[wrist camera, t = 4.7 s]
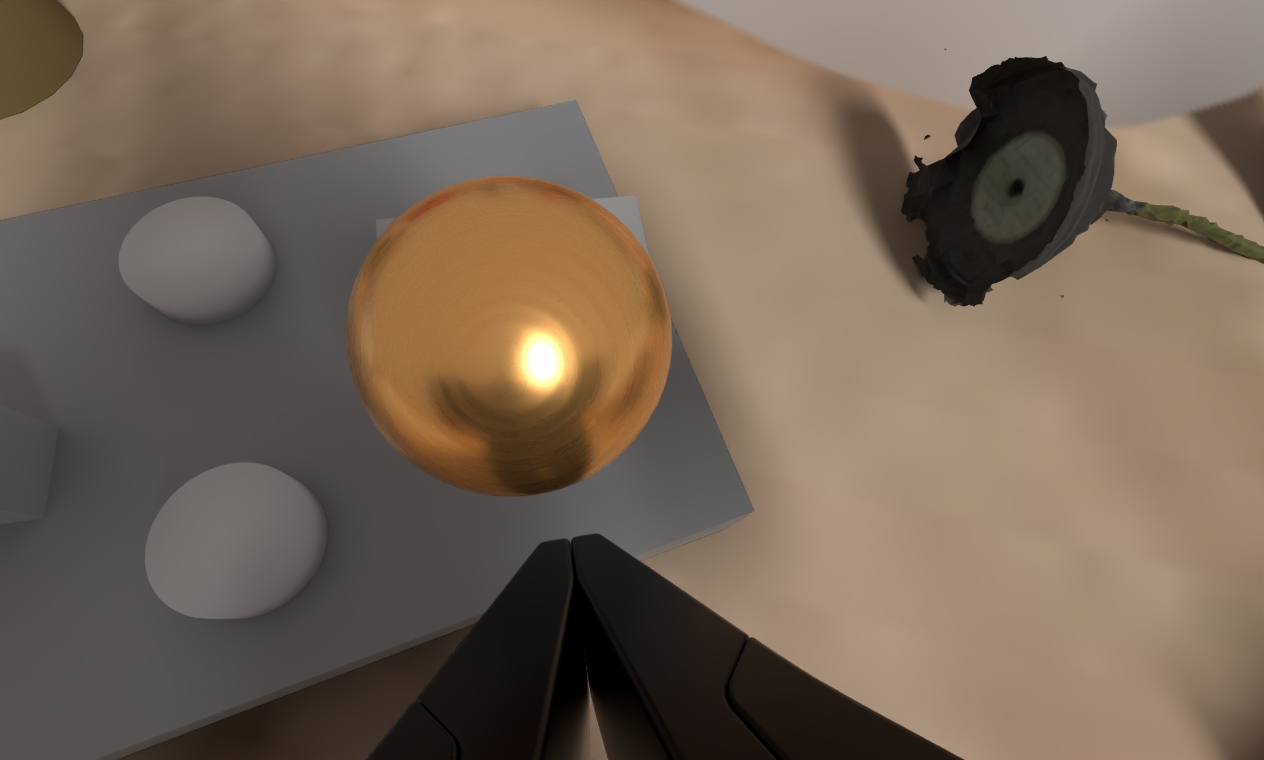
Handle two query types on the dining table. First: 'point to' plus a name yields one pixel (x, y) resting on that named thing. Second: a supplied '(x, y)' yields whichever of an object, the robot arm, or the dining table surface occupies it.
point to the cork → (35, 52)
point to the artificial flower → (1025, 182)
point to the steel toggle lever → (508, 336)
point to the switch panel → (264, 447)
